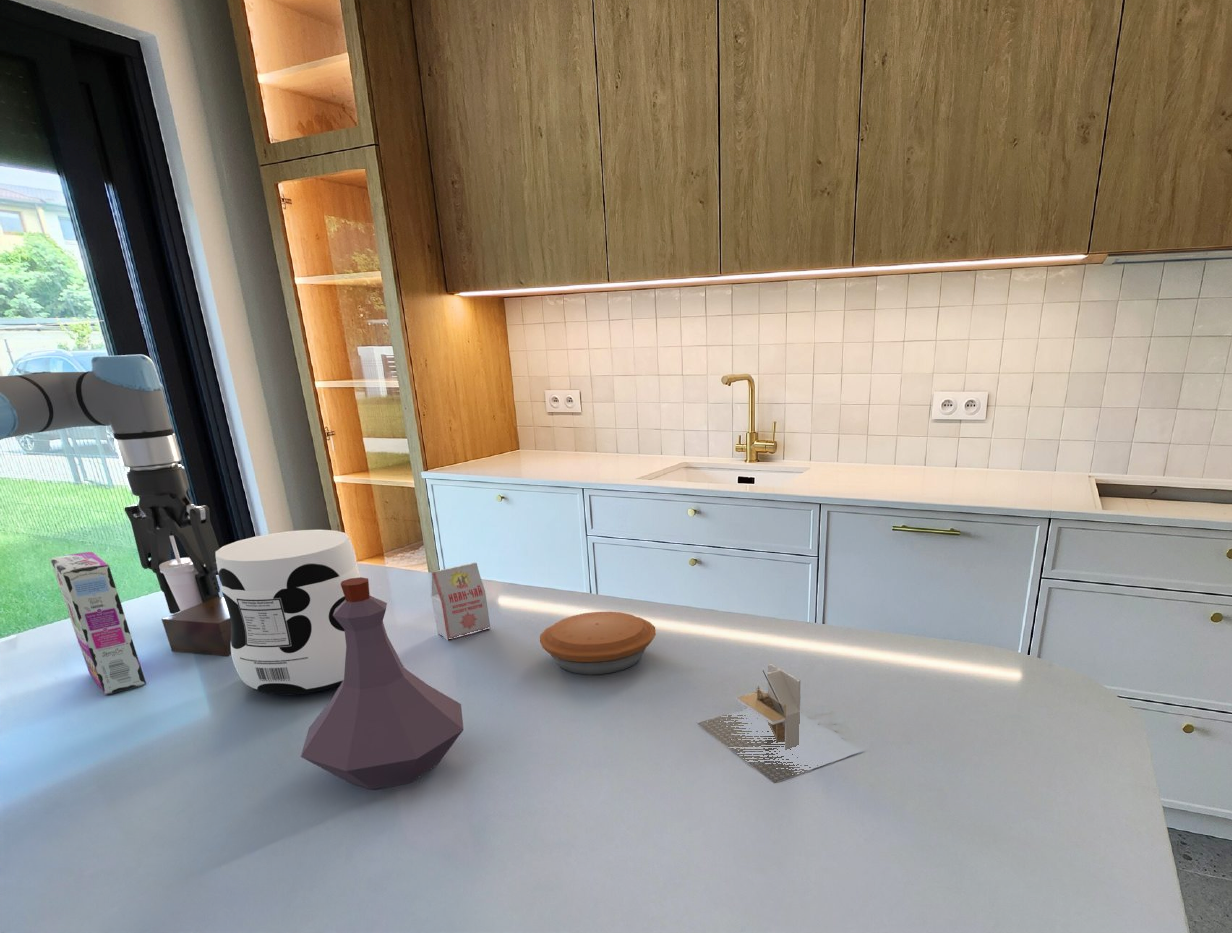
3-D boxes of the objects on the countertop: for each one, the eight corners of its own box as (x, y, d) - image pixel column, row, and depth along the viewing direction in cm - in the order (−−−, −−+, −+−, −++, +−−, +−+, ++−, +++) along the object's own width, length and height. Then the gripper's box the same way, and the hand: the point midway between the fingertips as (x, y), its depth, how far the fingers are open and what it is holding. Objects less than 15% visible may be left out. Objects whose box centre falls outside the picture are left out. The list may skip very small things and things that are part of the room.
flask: (287, 763, 83) (238, 582, 75) (436, 714, 93) (406, 548, 85) (337, 831, 72) (285, 624, 64) (501, 767, 81) (474, 580, 73)
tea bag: (437, 634, 118) (426, 569, 114) (479, 623, 121) (470, 560, 118) (447, 640, 115) (436, 574, 111) (490, 629, 119) (481, 565, 115)
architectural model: (773, 754, 82) (774, 689, 79) (737, 727, 87) (736, 666, 84) (800, 745, 83) (801, 681, 80) (762, 719, 89) (763, 659, 86)
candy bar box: (150, 684, 104) (110, 564, 97) (104, 697, 100) (60, 573, 94) (131, 662, 111) (92, 549, 105) (88, 673, 108) (46, 556, 101)
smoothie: (166, 626, 125) (139, 539, 119) (198, 612, 130) (174, 529, 125) (199, 628, 123) (174, 540, 118) (231, 614, 129) (208, 530, 124)
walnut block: (171, 651, 115) (161, 619, 113) (225, 627, 123) (216, 596, 121) (227, 656, 112) (218, 623, 110) (278, 631, 121) (270, 600, 119)
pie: (524, 679, 101) (520, 643, 99) (564, 635, 115) (560, 603, 113) (641, 685, 99) (639, 647, 97) (667, 639, 113) (665, 606, 111)
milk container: (367, 643, 115) (342, 521, 108) (400, 681, 102) (374, 545, 95) (234, 673, 106) (197, 542, 99) (251, 720, 93) (210, 573, 86)
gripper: (226, 462, 118) (264, 607, 127) (125, 461, 123) (168, 601, 132) (185, 471, 112) (228, 623, 121) (79, 469, 116) (128, 616, 125)
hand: (196, 611), depth 126 cm, fingers closed on smoothie, 6 cm apart
